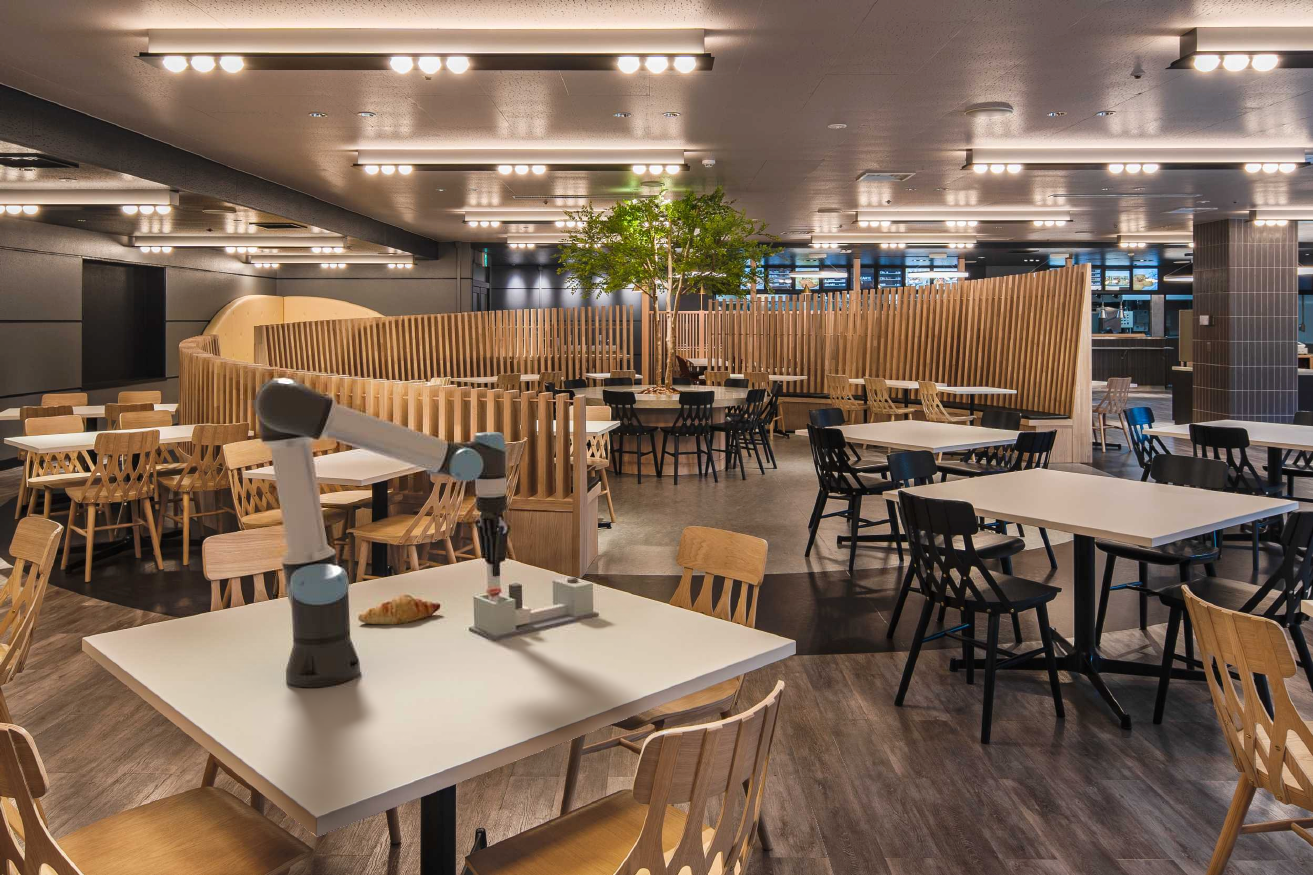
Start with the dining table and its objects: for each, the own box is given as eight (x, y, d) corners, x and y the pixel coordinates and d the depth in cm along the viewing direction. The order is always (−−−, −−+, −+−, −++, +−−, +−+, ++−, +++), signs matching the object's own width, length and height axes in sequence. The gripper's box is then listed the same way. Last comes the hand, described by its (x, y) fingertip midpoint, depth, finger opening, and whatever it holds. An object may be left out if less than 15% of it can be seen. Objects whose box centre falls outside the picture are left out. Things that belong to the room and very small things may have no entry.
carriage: (514, 626, 228) (513, 588, 228) (501, 621, 233) (500, 584, 232) (531, 622, 232) (530, 585, 231) (518, 617, 236) (517, 580, 235)
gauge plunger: (492, 626, 226) (491, 591, 225) (484, 623, 228) (483, 589, 228) (504, 623, 228) (503, 589, 227) (497, 620, 231) (496, 586, 230)
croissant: (361, 641, 234) (361, 617, 230) (354, 614, 242) (355, 591, 238) (443, 627, 243) (445, 605, 239) (434, 602, 251) (436, 580, 247)
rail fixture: (493, 641, 221) (492, 602, 220) (468, 630, 230) (467, 593, 230) (598, 615, 242) (598, 580, 241) (572, 606, 251) (571, 572, 250)
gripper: (518, 495, 223) (521, 590, 225) (491, 490, 233) (493, 581, 235) (491, 499, 218) (494, 596, 220) (464, 493, 228) (467, 586, 230)
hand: (494, 588), depth 227 cm, fingers closed
